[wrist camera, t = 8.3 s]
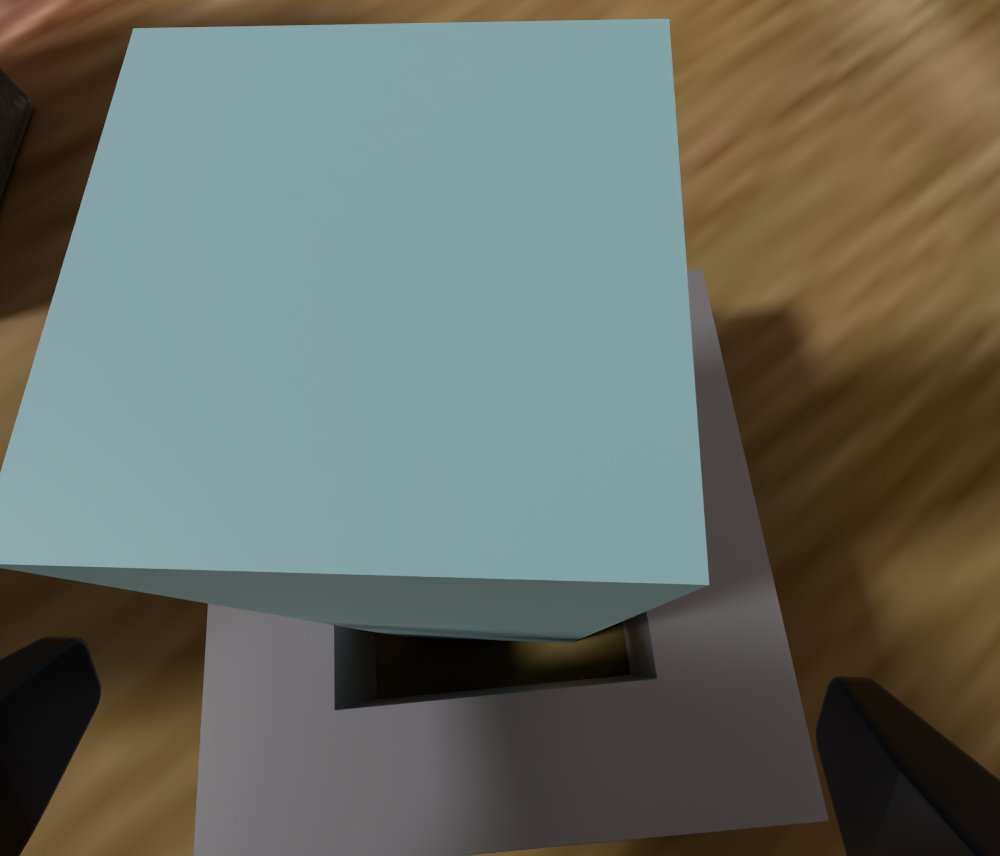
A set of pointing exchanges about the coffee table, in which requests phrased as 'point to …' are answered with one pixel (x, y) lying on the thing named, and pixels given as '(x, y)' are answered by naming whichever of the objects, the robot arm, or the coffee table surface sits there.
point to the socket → (522, 715)
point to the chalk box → (11, 124)
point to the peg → (375, 333)
